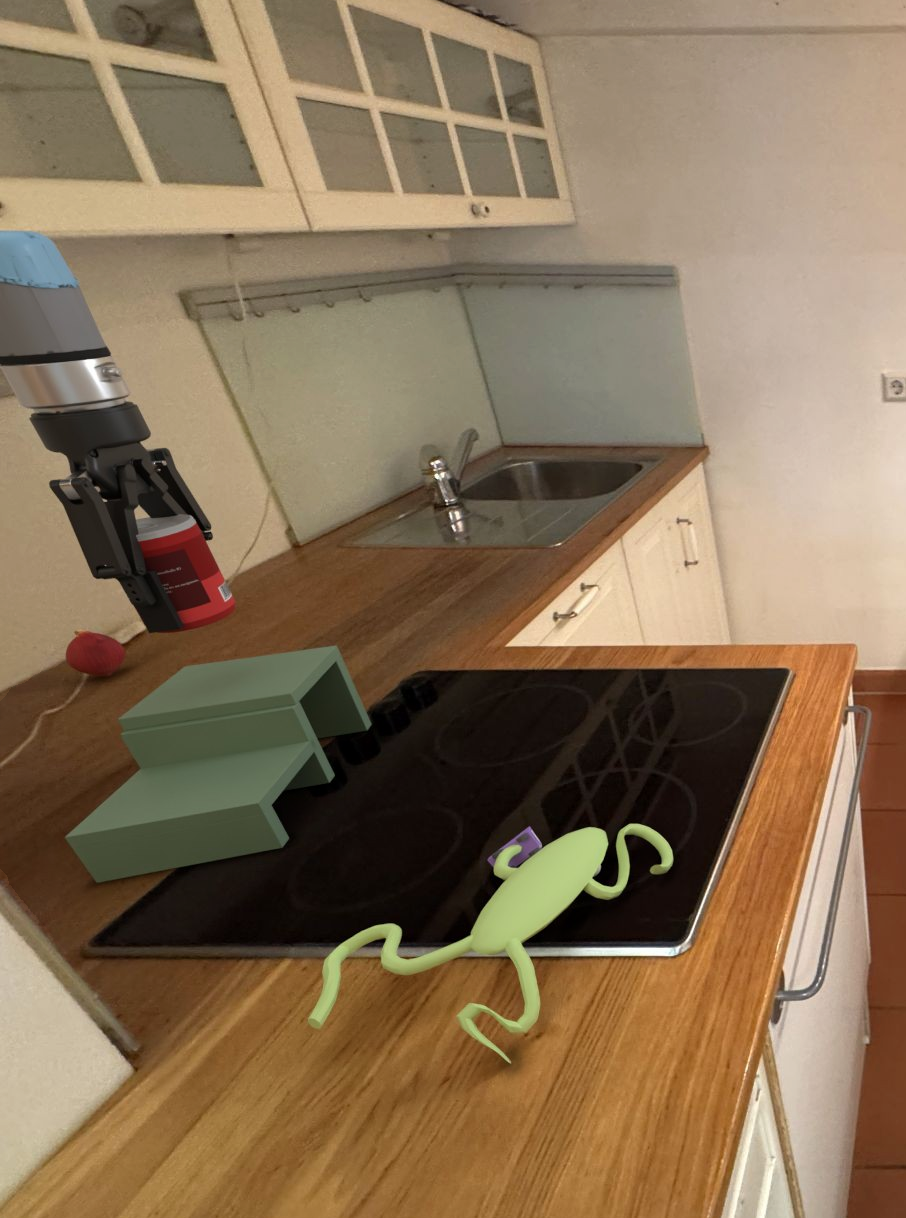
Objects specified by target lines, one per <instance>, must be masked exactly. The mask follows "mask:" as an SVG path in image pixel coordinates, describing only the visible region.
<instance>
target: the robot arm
mask: <svg viewBox="0 0 906 1218" xmlns="http://www.w3.org/2000/svg"><path fill="white" fill-rule="evenodd" d="M78 280H79V279H77V277H76V276H74V274H73V272H72V271H71V269H70V268H69V266H68V264H67V262H66V261H65V259H64V257H63V256H62V254H61V252H60V250H59V249H58V246H57V245H56V243H54V241H53V240H52V239H50V238H49V237H48V236H46V235H44V234H43V233H40V232H36V231H31V230H0V369H1V371H2V373H3V375H4V378H5V379H6V381H7V382H8V384H9V386H10V388H11V390H12V392H13V394H14V396H15V398H16V399H17V401H18V403H19V406H20V407H22V408H25V409H30V410H33V413H31V414H30V417H29V418H28V419H29V421H30V424H31V425H32V427H33V428H34V430H35V432H36V433H37V435H38V437H39V440H40V441H41V442H42V444H43V446H44V448H45V449H46V450H48V451H49V452H52V453H57V454H58V453H59V454H62V455H63V456H65V457H66V459H67V461H68V465H69V471H70V474H69V475H68V476H67V477H65V478H58V479H51V480H50V481H49V482H48V485H49V488H50V490H51V491H52V493H53V494H54V495H55V497H56V498H57V499H58V500H59V503H60V504H62V506H63V508H64V512H65V513H66V516H67V519H68V521H69V524H70V525H71V528H72V529H73V533H74V535H75V538H76V540H77V543H78V545H79V547H80V549H81V552H82V554H83V557H84V559H85V561H86V564H87V566H88V568H89V570H90V573H91V575H92V577H93V578H94V579H96V580H113V579H115V580H117V581H118V583H119V584H120V586H121V588H122V590H123V591H124V593H125V595H126V597H127V598H128V600H129V602H130V603H131V604H130V605H132V606H133V607H134V609H135V608H136V609H135V611H136V610H137V611H136V612H138V613H137V614H138V616H139V615H140V616H139V618H140V617H141V618H140V620H141V619H142V620H141V621H142V623H143V625H144V624H145V625H144V626H145V628H146V630H147V632H148V633H149V634H155V633H158V632H163V631H171V630H178V629H181V628H183V627H184V625H183V623H182V621H181V619H180V617H179V615H178V613H177V611H176V610H175V608H174V606H173V604H172V602H171V600H170V598H169V596H168V595H167V593H166V591H165V589H164V587H163V585H162V583H161V582H160V580H159V578H158V576H157V574H156V572H155V570H154V571H146V567H145V562H144V557H143V552H142V548H141V546H140V544H139V542H138V539H137V537H136V535H138V534H139V533H138V528H137V523H136V520H137V519H136V513H135V510H136V509H137V508H138V507H140V508H141V509H142V510H143V511H144V512H145V513H146V514H147V515H148V517H151V518H163V517H171V516H177V515H178V514H184V515H190V516H192V517H193V518H194V520H195V521H196V523H197V525H198V527H199V529H200V530H201V532H202V534H203V536H204V538H205V540H206V542H207V541H212V540H213V539H214V535H213V532H212V531H211V530H212V524H211V522H210V519H208V517H207V515H206V513H205V512H204V511H203V509H202V508H201V506H200V504H199V503H198V501H197V499H196V498H195V496H194V495H193V493H192V492H191V489H190V488H189V486H188V485H187V484H186V481H185V480H184V479H183V477H182V475H181V473H180V472H179V470H178V469H177V467H176V464H175V461H174V459H173V455H172V452H171V451H170V449H168V448H167V447H158V448H146V447H145V446H144V445H143V444H142V443H141V442H144V441H147V440H148V439H150V438H151V435H152V432H151V430H150V428H149V426H148V424H147V422H146V420H145V418H144V416H143V414H142V412H141V410H140V408H139V406H138V404H135V403H134V402H132V401H126V398H129V397H130V395H131V391H130V388H129V387H128V385H127V384H126V381H125V380H124V377H123V376H122V375H123V374H124V373H123V370H122V369H121V368H119V367H118V366H117V363H116V362H115V360H114V358H113V356H112V353H111V351H110V349H109V347H108V345H106V343H105V341H104V338H103V336H102V334H101V332H100V329H99V327H98V325H97V323H96V321H95V318H94V316H93V314H92V312H91V309H90V307H89V305H88V303H87V300H86V299H85V296H84V294H83V292H82V290H81V287H80V282H79V281H78ZM104 500H105V501H104ZM129 563H130V564H129Z"/></svg>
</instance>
